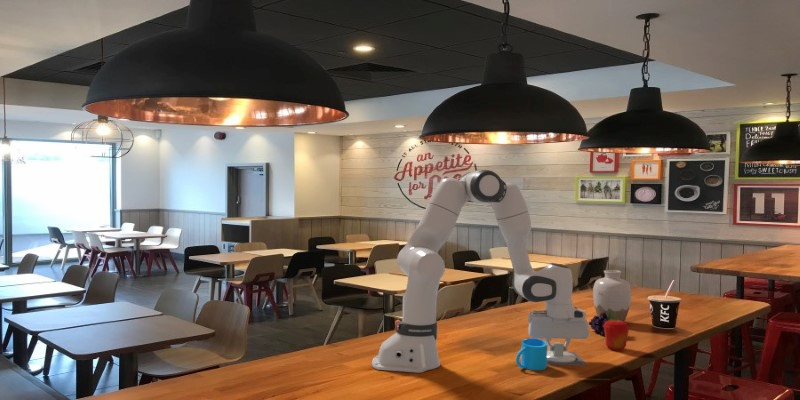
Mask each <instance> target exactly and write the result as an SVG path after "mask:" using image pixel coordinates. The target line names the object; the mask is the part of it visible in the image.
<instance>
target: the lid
mask: <svg viewBox="0 0 800 400" xmlns="http://www.w3.org/2000/svg"><path fill="white" fill-rule="evenodd" d="M552 345H553V346H554V351H549V350H547V361H549V362H554V363H571V362H574V361H575V360H576V356H575V355H574V354H572V353H569V352H570V351H567V352H566V351H563V346H564V343H563V342H557V341H556V342H555V341H554V342H552Z"/></svg>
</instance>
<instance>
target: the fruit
mask: <svg viewBox="0 0 800 400" xmlns="http://www.w3.org/2000/svg"><path fill="white" fill-rule="evenodd" d="M609 320H618V318H617V316H616V315H615V314H614V312H613V310H612V312H610V313H609V312H608V313H607V312H605V313H601V314H600V316H599V317H598V316H597V315H593V318H591V319H590V321H588V326H590V327H591V329H592V330H594V331H595V332H597V333H599V334H600V335H601V336H603V337H604V336H605V332H604V324H605V322H606V321H609Z"/></svg>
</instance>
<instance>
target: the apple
mask: <svg viewBox="0 0 800 400" xmlns="http://www.w3.org/2000/svg"><path fill="white" fill-rule="evenodd" d="M629 328H630V327H629V326H628V323H627V322H625V321H624V322H623V321H620V320H609V321H606V322H605V324H604V332H605V335H604V336H605V337H604V338H605V345H606V347H607V349H609V350H611V351H616V352H619V351H622V350H624V349H625V348H626V347H627V341H628V337H629V336H628V335H629Z"/></svg>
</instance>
